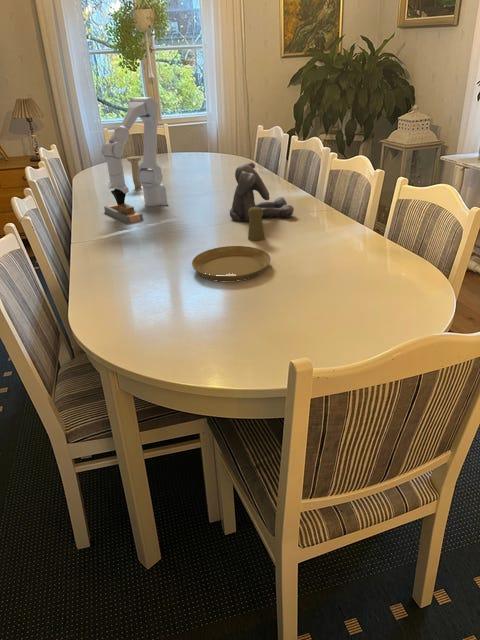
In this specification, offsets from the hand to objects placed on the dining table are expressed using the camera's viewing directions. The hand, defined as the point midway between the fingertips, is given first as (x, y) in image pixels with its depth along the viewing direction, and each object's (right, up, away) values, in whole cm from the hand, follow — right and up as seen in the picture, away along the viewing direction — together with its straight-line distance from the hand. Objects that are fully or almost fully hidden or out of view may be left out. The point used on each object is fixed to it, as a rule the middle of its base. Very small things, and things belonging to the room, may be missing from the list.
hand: (121, 207), depth 212 cm
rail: (+1, -4, +2) cm, 4 cm away
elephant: (+57, -4, -4) cm, 57 cm away
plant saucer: (+46, -31, -52) cm, 76 cm away
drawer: (+3, -5, -2) cm, 6 cm away
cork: (+54, -17, -28) cm, 64 cm away
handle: (-2, +20, +47) cm, 51 cm away
